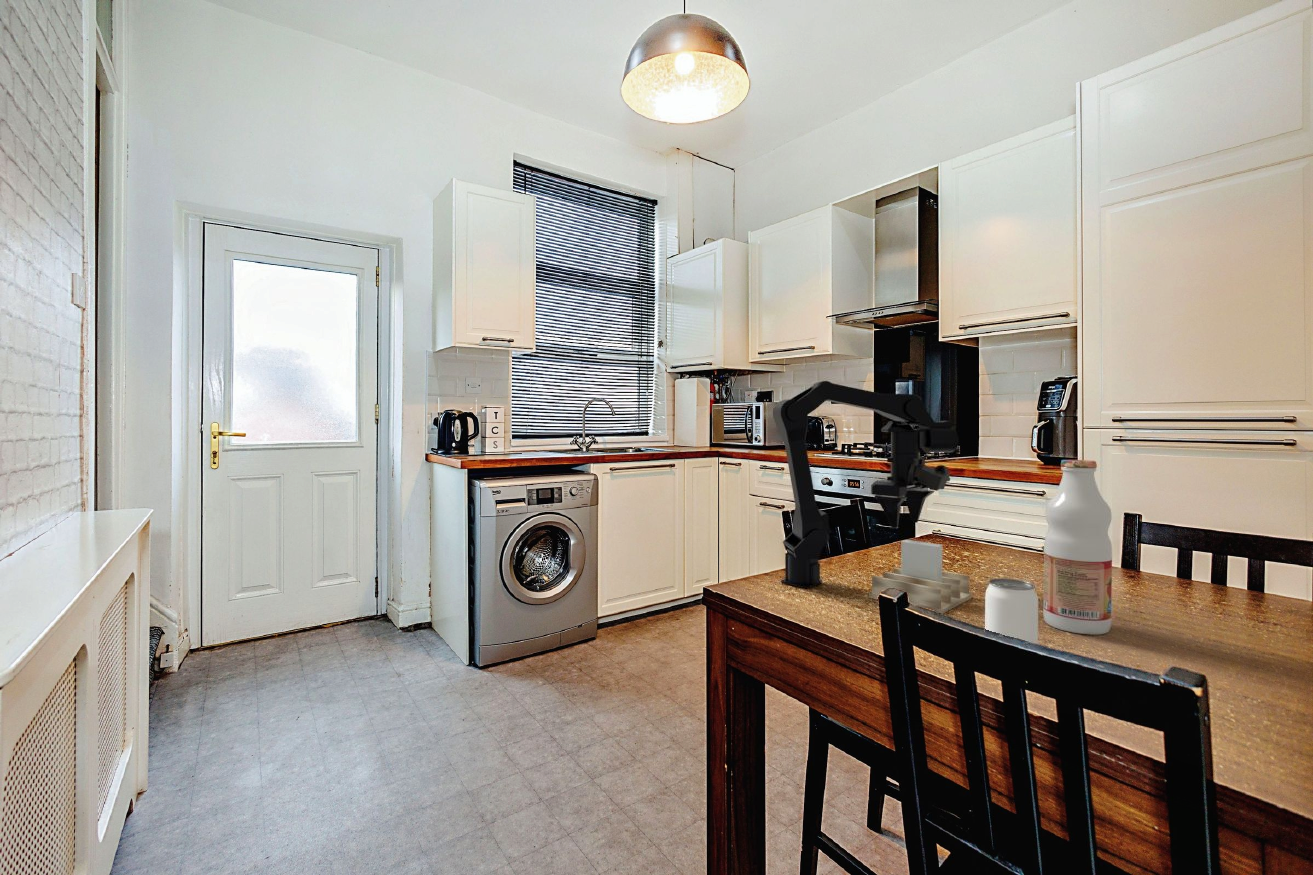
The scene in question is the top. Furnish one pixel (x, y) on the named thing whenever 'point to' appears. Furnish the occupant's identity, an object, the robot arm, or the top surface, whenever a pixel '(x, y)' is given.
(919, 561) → the grey upright domino
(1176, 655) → the top surface
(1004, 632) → the can
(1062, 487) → the fruit juice
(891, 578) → the rack
